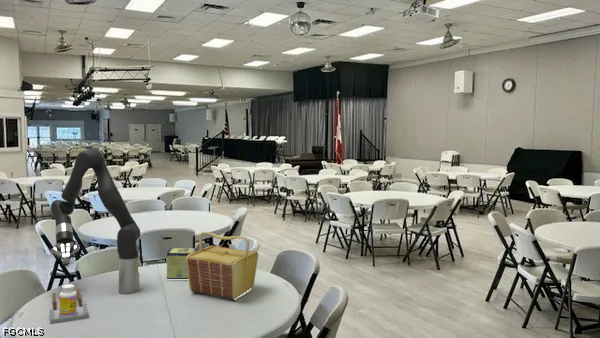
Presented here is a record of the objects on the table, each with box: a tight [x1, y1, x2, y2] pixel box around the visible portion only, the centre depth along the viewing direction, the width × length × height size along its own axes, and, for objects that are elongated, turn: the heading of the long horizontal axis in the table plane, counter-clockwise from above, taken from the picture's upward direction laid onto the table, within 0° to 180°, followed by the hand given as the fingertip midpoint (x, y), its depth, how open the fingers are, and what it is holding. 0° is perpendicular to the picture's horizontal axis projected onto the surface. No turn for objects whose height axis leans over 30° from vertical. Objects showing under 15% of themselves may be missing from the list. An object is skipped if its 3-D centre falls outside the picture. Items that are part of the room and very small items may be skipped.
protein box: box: [166, 247, 198, 280], centre depth 254 cm, size 10×16×16 cm
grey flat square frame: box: [49, 304, 90, 325], centre depth 198 cm, size 14×13×2 cm
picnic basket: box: [186, 231, 259, 300], centre depth 233 cm, size 29×26×30 cm
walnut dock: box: [52, 289, 83, 311], centre depth 212 cm, size 11×13×4 cm
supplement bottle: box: [58, 283, 78, 318], centre depth 198 cm, size 7×7×13 cm
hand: (66, 265), depth 216 cm, fingers closed
